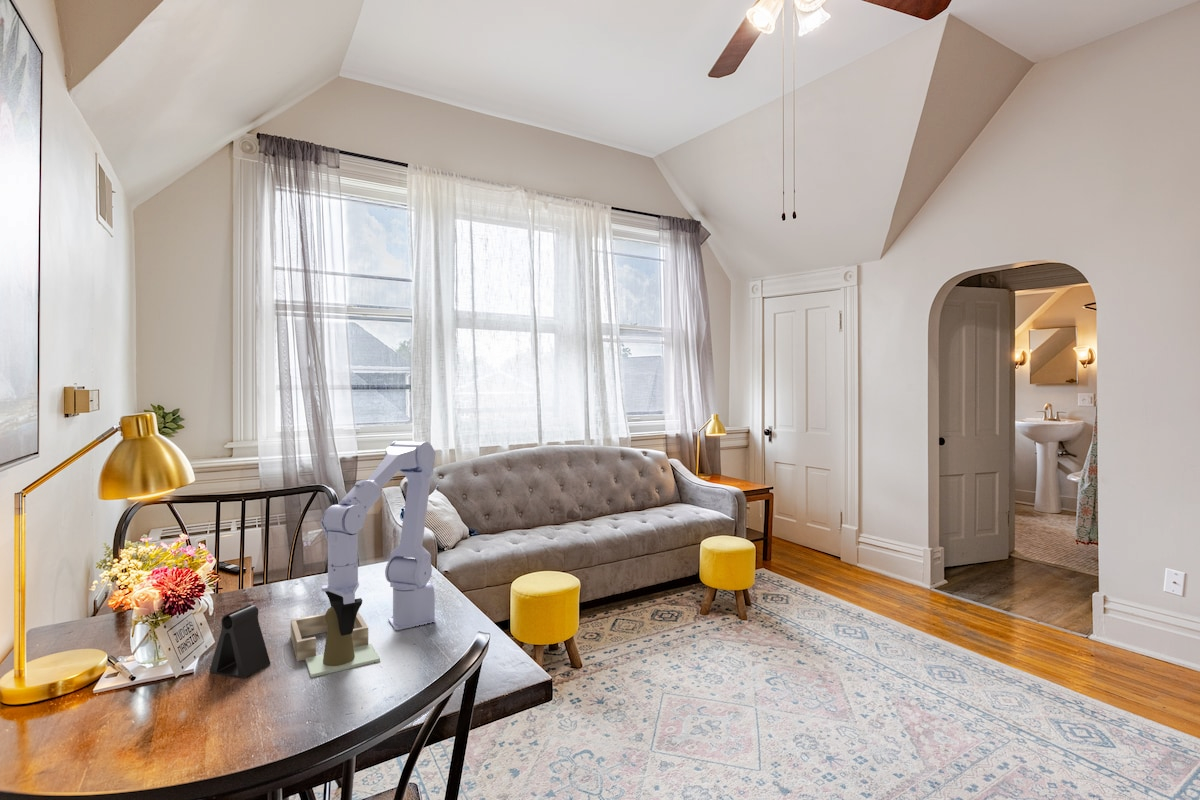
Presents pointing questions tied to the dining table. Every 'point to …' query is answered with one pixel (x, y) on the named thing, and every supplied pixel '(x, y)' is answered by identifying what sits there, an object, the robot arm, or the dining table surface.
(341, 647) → the olive game pawn
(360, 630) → the access bay
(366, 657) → the sage mat
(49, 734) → the dining table surface
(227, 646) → the black triangular stand
